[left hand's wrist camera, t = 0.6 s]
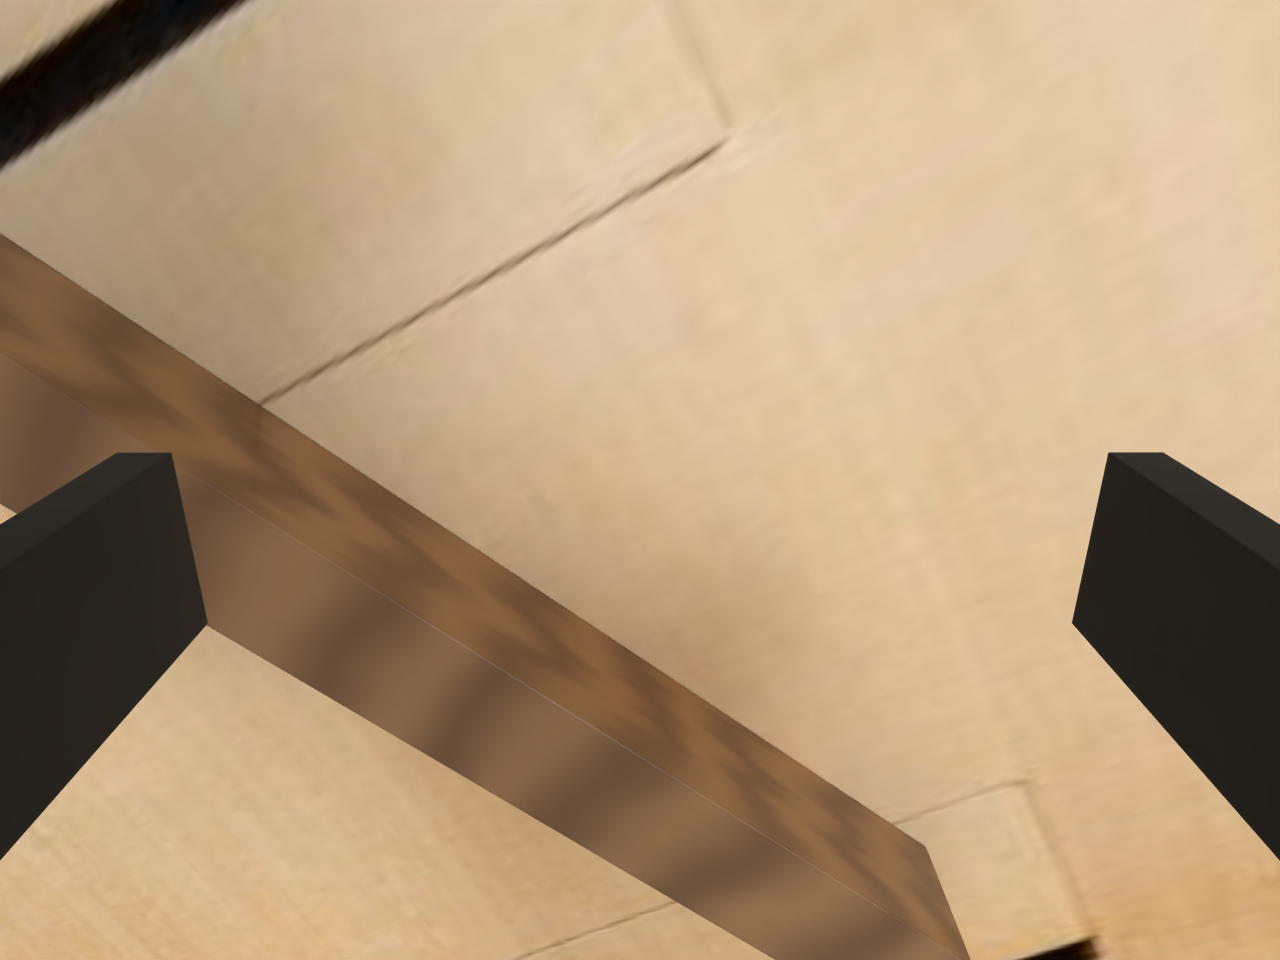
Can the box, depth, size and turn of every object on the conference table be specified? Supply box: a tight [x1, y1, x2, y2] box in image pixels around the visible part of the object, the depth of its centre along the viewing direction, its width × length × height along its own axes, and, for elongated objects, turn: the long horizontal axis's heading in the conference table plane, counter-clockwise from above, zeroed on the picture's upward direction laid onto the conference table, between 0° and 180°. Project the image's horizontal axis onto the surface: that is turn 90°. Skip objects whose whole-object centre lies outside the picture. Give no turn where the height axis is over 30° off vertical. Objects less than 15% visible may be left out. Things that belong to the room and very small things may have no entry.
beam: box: [0, 234, 970, 960], centre depth 39 cm, size 67×6×8 cm, turn 52°
